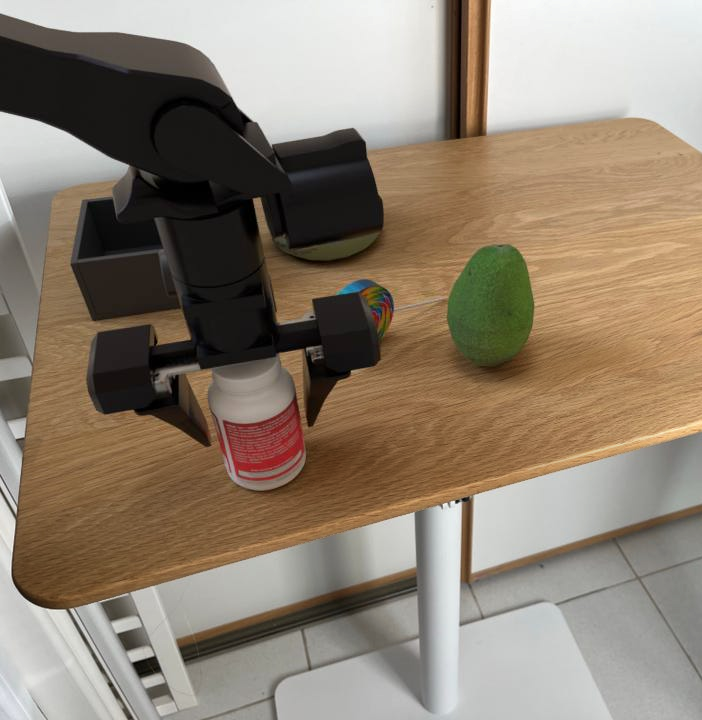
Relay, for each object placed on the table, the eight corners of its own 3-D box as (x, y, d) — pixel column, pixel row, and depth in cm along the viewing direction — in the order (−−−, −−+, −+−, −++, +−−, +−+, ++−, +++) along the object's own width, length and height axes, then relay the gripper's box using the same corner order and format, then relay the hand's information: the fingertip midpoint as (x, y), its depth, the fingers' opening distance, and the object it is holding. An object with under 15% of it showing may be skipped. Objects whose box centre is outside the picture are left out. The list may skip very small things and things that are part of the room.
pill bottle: (323, 459, 60) (308, 354, 53) (263, 507, 56) (238, 400, 49) (270, 424, 63) (250, 319, 55) (210, 467, 59) (179, 361, 52)
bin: (92, 320, 72) (69, 263, 68) (101, 253, 81) (81, 199, 77) (222, 301, 75) (209, 245, 71) (218, 239, 84) (205, 185, 80)
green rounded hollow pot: (404, 248, 84) (401, 177, 78) (296, 282, 78) (284, 208, 72) (342, 188, 94) (335, 122, 88) (242, 215, 88) (228, 145, 82)
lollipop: (441, 332, 78) (328, 364, 67) (432, 326, 78) (317, 356, 67) (456, 269, 74) (339, 292, 63) (446, 263, 75) (329, 285, 64)
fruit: (547, 358, 70) (561, 249, 62) (487, 397, 66) (492, 285, 58) (489, 319, 74) (495, 213, 66) (429, 353, 70) (427, 244, 62)
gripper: (345, 183, 55) (362, 346, 65) (69, 217, 50) (134, 385, 61) (374, 266, 47) (388, 436, 57) (49, 314, 42) (128, 489, 53)
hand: (260, 432), depth 57 cm, fingers closed on pill bottle, 7 cm apart
